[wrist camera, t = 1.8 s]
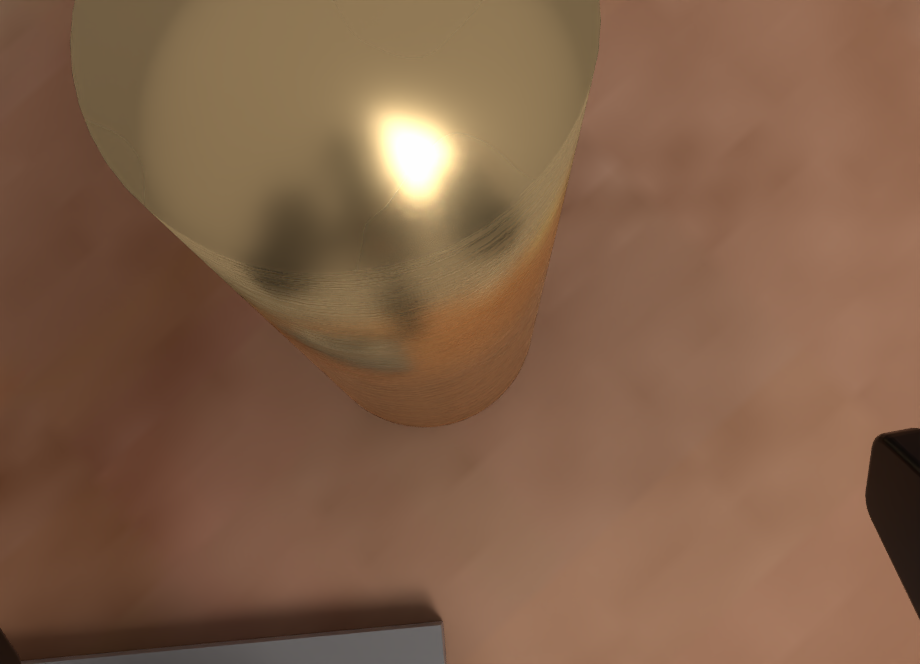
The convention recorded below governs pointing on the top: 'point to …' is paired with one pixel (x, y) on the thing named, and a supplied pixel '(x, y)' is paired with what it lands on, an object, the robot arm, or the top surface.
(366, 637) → the fitting board
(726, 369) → the top surface
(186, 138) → the gold cylinder peg
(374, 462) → the top surface
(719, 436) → the top surface
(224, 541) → the top surface
